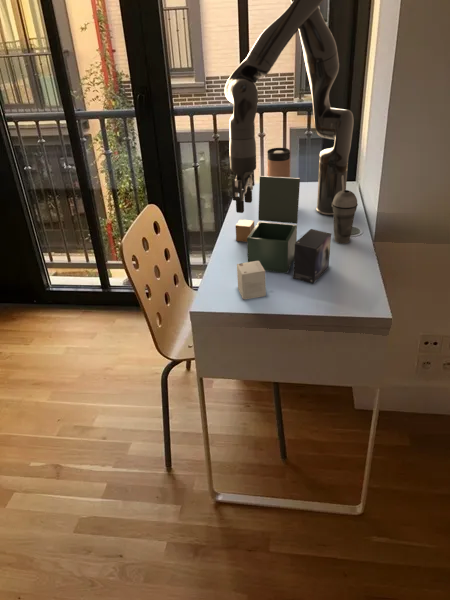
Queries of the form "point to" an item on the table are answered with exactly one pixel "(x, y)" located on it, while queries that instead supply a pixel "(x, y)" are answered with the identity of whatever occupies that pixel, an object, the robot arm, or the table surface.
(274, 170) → the travel mug
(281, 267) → the bin
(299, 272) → the small box
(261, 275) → the white cardboard box
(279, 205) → the bin lid
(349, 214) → the beverage cup
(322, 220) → the table surface
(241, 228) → the carton
